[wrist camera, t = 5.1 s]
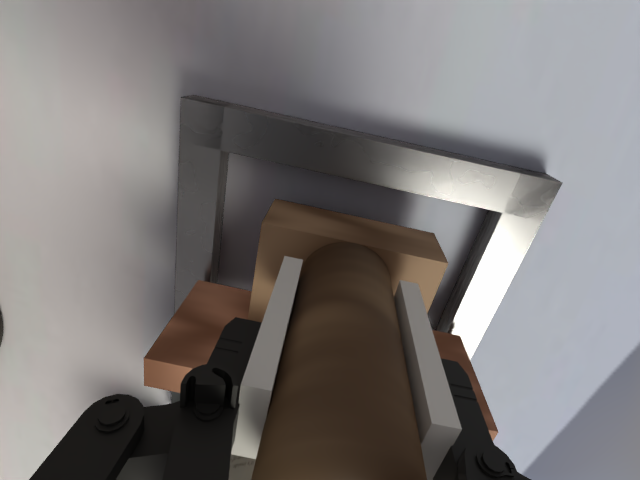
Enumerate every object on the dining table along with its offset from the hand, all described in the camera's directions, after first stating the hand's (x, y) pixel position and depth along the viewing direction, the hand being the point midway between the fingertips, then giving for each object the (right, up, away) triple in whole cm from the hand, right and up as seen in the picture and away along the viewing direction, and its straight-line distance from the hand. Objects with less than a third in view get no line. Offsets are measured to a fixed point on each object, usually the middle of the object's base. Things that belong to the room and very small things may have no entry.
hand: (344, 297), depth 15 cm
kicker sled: (0, 0, +4) cm, 4 cm away
